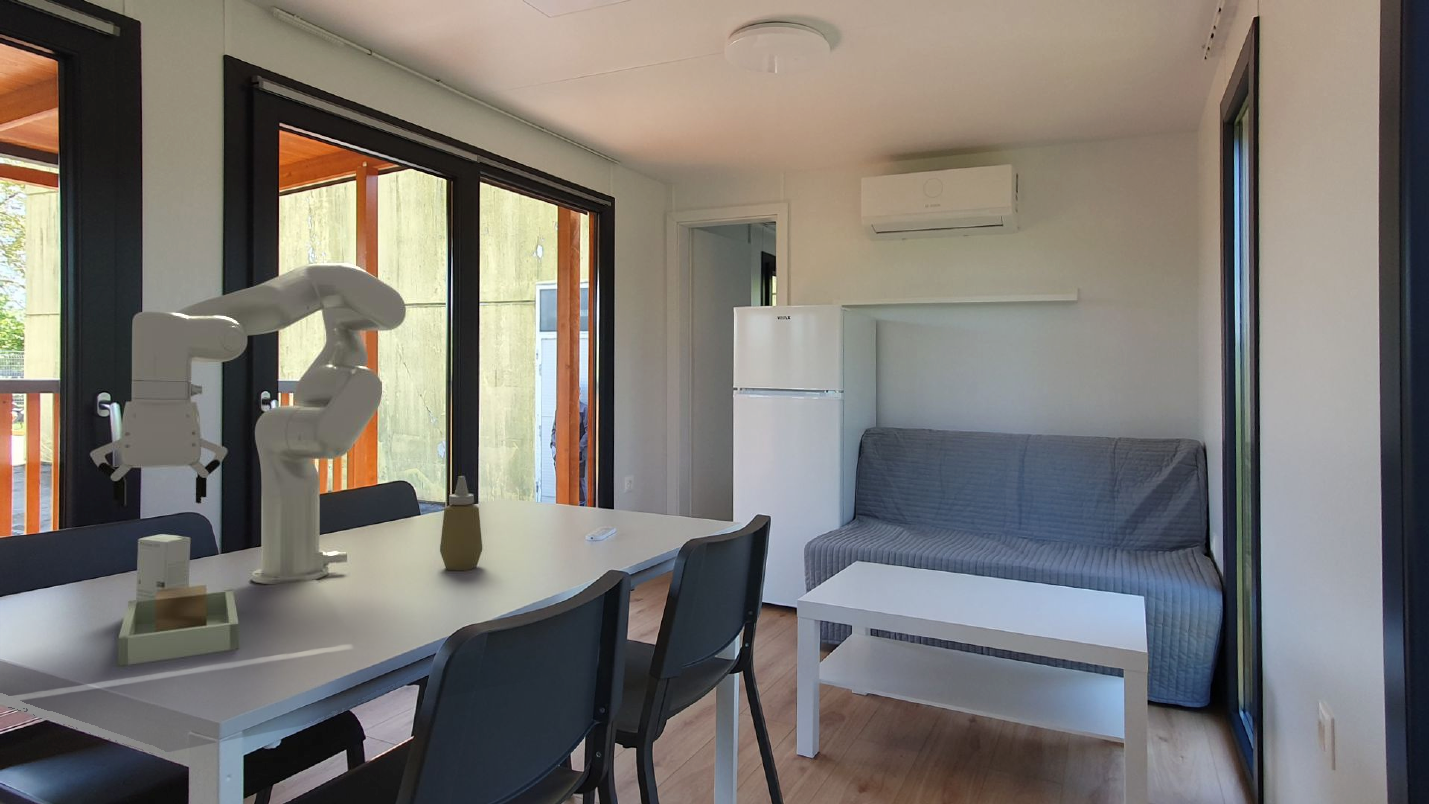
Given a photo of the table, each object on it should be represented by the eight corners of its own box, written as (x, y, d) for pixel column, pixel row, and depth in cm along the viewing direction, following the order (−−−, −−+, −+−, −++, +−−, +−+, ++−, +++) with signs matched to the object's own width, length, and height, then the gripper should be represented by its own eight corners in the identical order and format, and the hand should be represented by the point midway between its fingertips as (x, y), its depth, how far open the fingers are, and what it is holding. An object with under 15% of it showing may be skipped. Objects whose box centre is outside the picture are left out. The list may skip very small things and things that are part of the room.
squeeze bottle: (465, 561, 163) (466, 473, 162) (491, 567, 158) (491, 476, 158) (430, 568, 156) (431, 476, 156) (456, 574, 152) (457, 480, 151)
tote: (232, 615, 124) (232, 589, 124) (238, 652, 108) (238, 623, 107) (129, 628, 117) (129, 600, 117) (118, 670, 100) (118, 639, 100)
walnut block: (206, 617, 121) (206, 584, 121) (206, 628, 116) (206, 594, 116) (157, 623, 117) (157, 590, 117) (156, 635, 112) (155, 599, 112)
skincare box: (134, 617, 122) (133, 538, 122) (162, 609, 127) (161, 533, 126) (164, 621, 121) (163, 541, 120) (191, 613, 125) (191, 536, 124)
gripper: (227, 393, 130) (226, 498, 131) (93, 391, 121) (92, 504, 121) (228, 394, 124) (227, 504, 124) (87, 392, 115) (87, 511, 115)
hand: (161, 504), depth 123 cm, fingers open, 9 cm apart
